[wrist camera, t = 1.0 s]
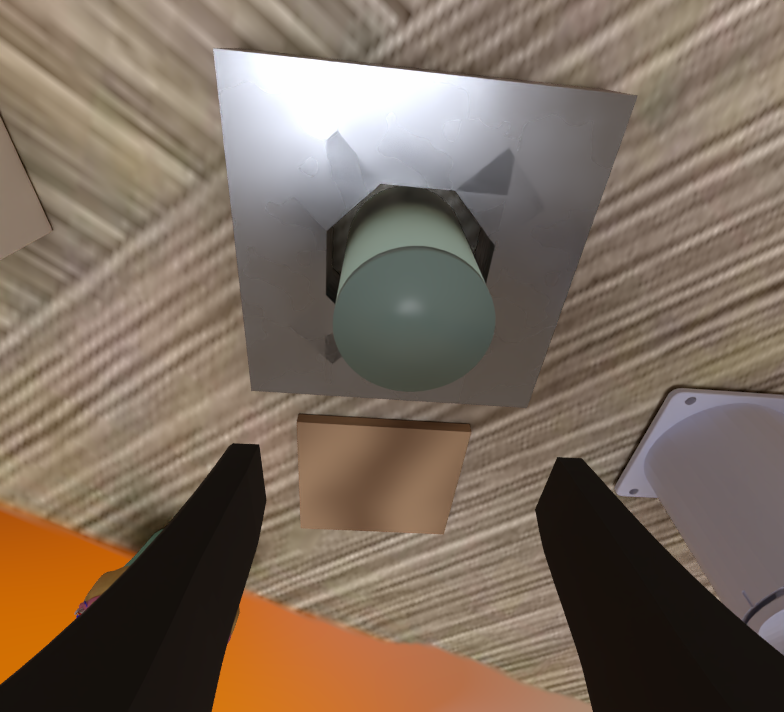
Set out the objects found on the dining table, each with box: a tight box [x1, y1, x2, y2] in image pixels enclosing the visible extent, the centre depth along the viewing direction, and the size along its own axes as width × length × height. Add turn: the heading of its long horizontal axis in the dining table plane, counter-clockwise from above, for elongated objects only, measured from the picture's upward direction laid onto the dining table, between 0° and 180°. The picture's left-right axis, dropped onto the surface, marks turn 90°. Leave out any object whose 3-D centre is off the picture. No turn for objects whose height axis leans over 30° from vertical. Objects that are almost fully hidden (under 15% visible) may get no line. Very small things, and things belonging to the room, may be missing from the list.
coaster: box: [297, 414, 471, 534], centre depth 26 cm, size 9×9×1 cm
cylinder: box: [333, 186, 496, 392], centre depth 15 cm, size 5×5×6 cm
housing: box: [213, 48, 637, 408], centre depth 17 cm, size 12×12×2 cm
